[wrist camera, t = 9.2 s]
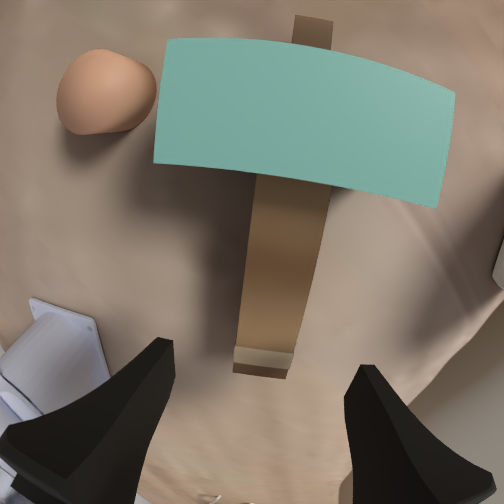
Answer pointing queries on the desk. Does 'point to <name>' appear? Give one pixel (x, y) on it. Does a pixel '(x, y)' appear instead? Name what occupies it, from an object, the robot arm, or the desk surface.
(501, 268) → the photo printer
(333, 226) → the desk surface
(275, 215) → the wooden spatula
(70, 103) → the bead
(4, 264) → the desk surface
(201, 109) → the teal angular block
